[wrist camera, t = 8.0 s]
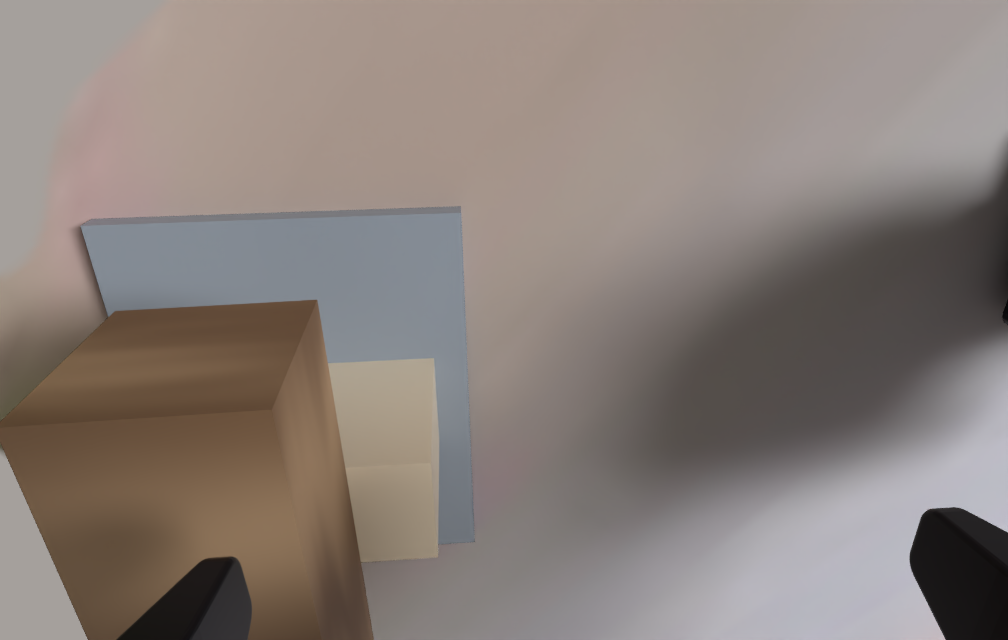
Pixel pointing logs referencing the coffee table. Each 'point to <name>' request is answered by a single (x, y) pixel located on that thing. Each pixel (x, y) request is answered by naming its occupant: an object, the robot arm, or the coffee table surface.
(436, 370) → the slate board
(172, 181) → the coffee table surface
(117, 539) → the walnut rod
